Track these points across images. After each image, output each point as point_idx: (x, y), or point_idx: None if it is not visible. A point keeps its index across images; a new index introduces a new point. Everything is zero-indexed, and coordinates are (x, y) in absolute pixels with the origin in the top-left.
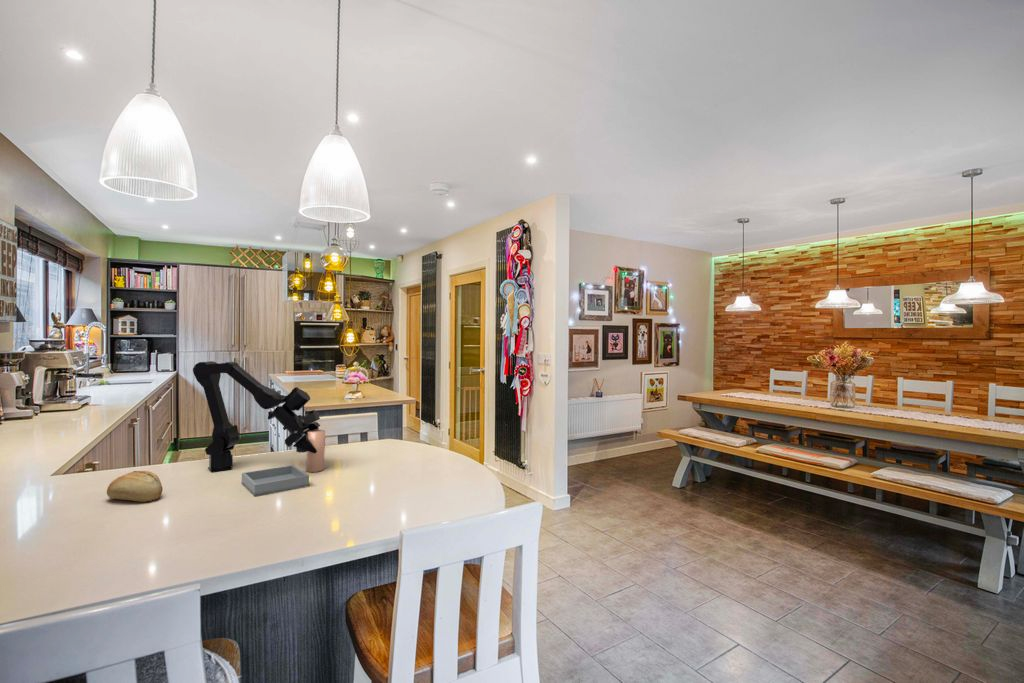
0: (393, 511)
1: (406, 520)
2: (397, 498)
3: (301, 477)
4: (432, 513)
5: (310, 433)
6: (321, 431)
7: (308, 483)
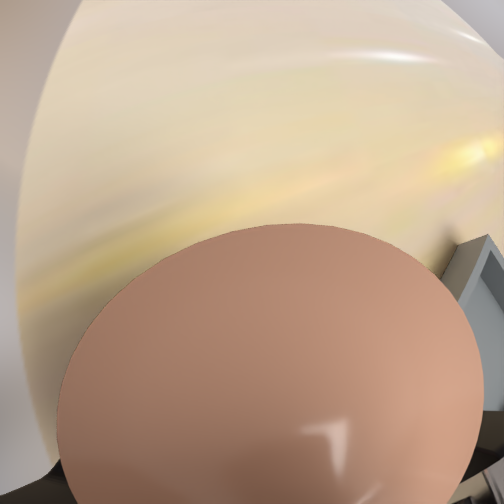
0: (465, 43)
1: (474, 37)
2: (422, 26)
3: (501, 257)
4: (440, 8)
5: (461, 454)
6: (314, 319)
7: (466, 243)
